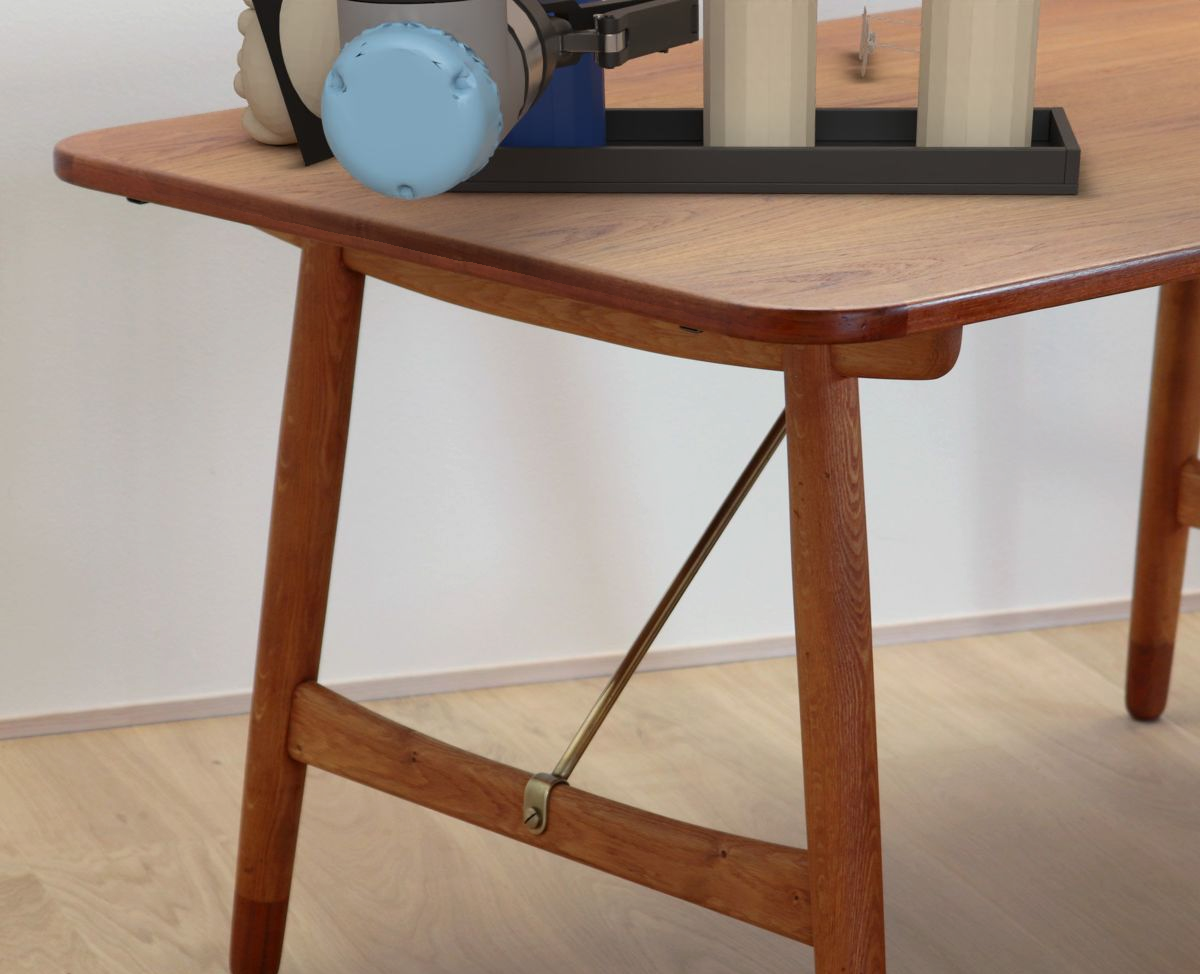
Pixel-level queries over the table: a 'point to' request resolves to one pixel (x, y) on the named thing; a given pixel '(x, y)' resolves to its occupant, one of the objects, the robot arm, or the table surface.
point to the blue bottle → (566, 108)
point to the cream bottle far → (977, 73)
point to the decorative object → (287, 71)
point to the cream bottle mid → (759, 73)
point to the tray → (787, 159)
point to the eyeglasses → (874, 39)
